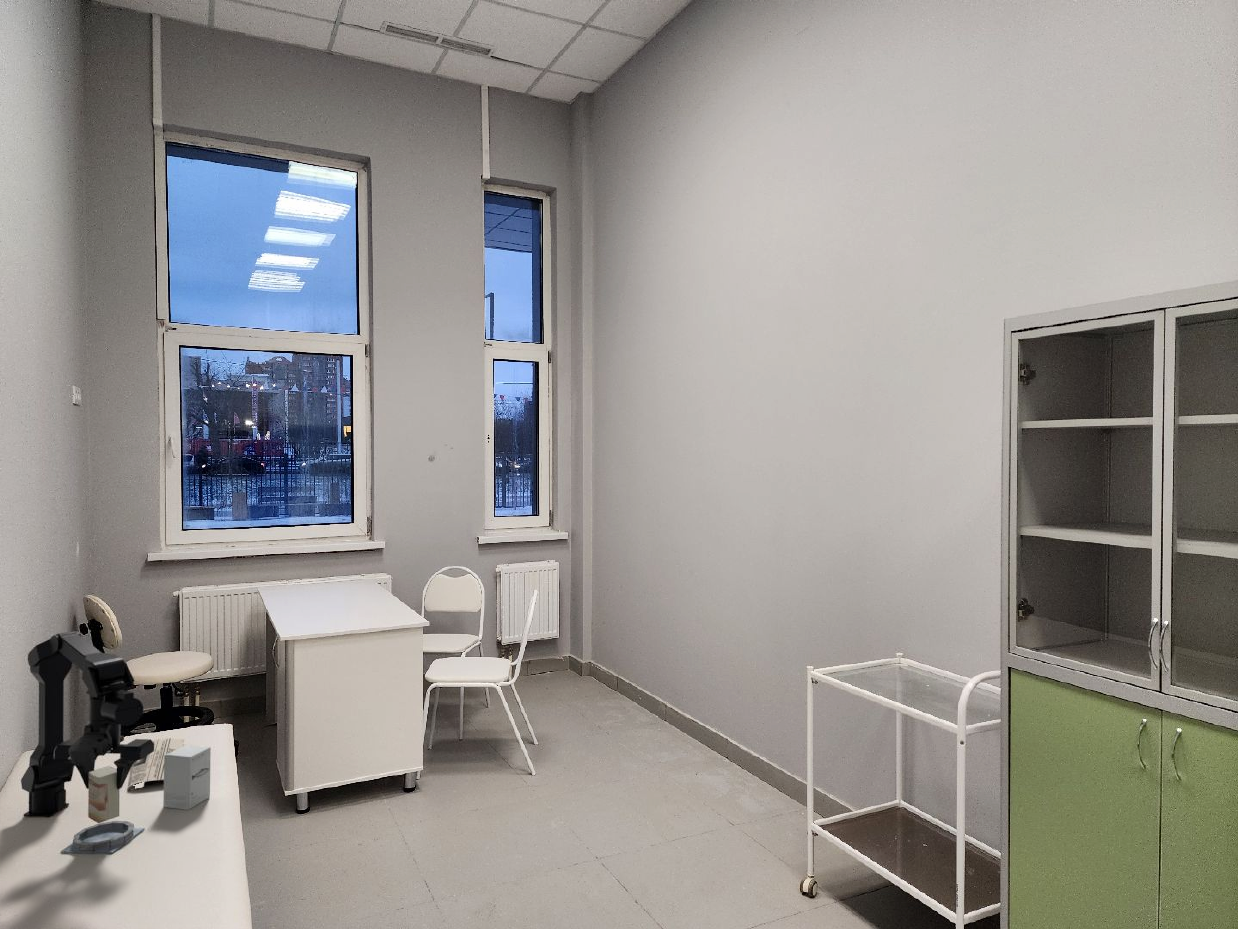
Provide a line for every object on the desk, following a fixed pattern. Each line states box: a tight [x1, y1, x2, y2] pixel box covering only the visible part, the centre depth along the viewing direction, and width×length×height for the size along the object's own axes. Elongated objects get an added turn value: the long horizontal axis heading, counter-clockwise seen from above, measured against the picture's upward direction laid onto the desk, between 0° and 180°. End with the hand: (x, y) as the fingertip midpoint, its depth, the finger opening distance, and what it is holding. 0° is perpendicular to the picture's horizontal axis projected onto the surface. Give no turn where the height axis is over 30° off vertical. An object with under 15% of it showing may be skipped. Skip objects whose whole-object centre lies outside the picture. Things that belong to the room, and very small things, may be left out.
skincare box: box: [87, 765, 121, 824], centre depth 173 cm, size 5×4×10 cm
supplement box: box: [162, 744, 212, 811], centre depth 192 cm, size 7×7×13 cm
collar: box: [60, 820, 146, 855], centre depth 172 cm, size 11×11×2 cm
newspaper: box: [127, 737, 185, 792], centre depth 216 cm, size 35×12×4 cm, turn 29°
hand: (104, 788), depth 173 cm, fingers closed on skincare box, 6 cm apart
